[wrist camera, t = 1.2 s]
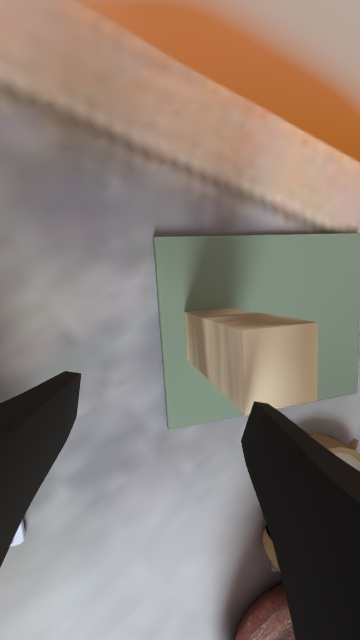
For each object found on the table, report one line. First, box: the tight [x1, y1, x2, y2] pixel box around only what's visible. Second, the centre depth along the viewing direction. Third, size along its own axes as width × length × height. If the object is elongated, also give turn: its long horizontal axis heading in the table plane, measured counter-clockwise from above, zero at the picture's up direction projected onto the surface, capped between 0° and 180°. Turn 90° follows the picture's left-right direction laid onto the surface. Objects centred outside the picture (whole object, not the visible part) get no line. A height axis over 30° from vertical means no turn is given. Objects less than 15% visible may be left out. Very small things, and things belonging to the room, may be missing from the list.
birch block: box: [184, 308, 318, 415], centre depth 17 cm, size 4×4×10 cm
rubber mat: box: [153, 233, 360, 430], centre depth 24 cm, size 20×16×1 cm
